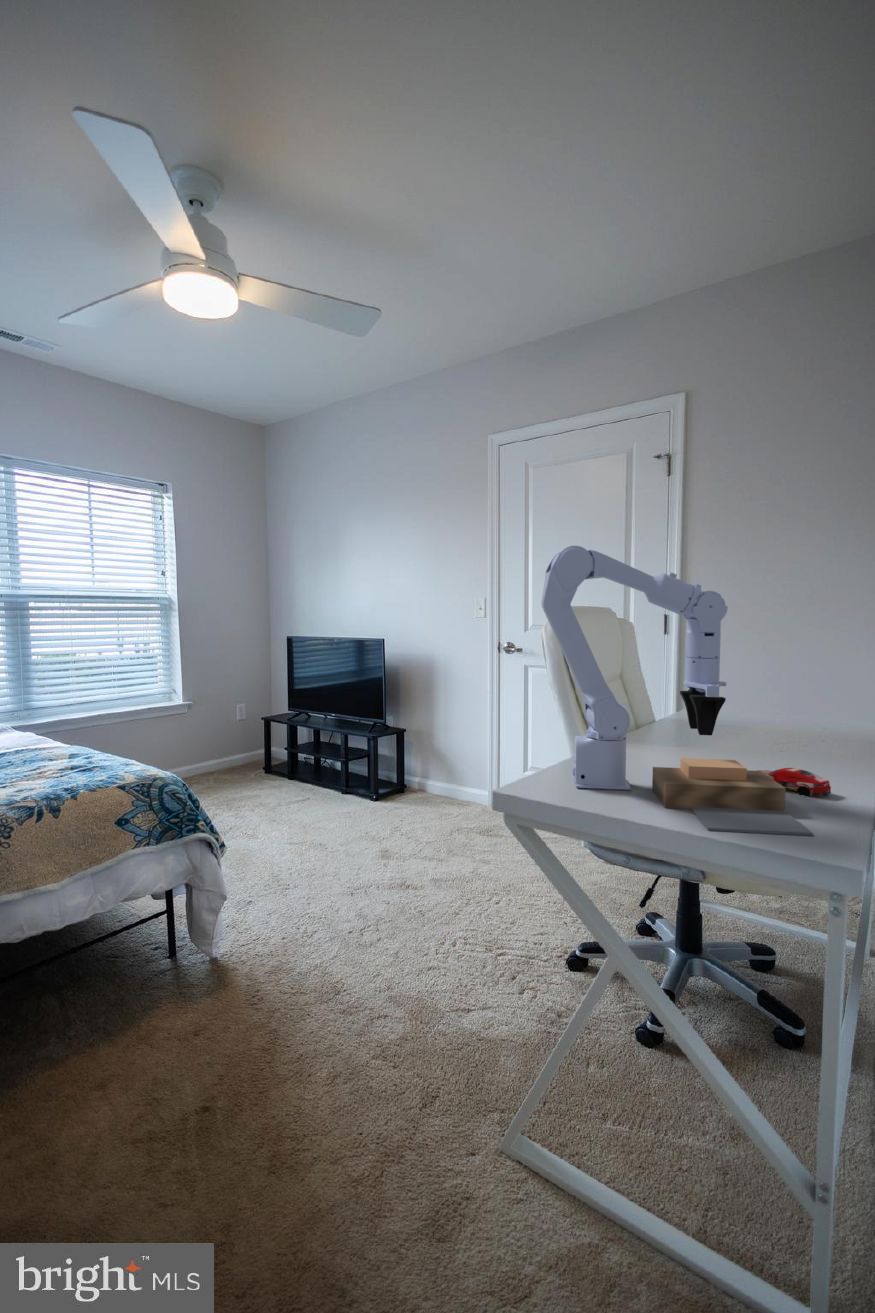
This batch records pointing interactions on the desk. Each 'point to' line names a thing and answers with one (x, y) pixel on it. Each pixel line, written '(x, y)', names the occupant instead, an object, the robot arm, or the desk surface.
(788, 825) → the mat
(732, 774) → the tan wooden block
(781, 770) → the race car
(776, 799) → the brown wooden flat block
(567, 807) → the desk surface
